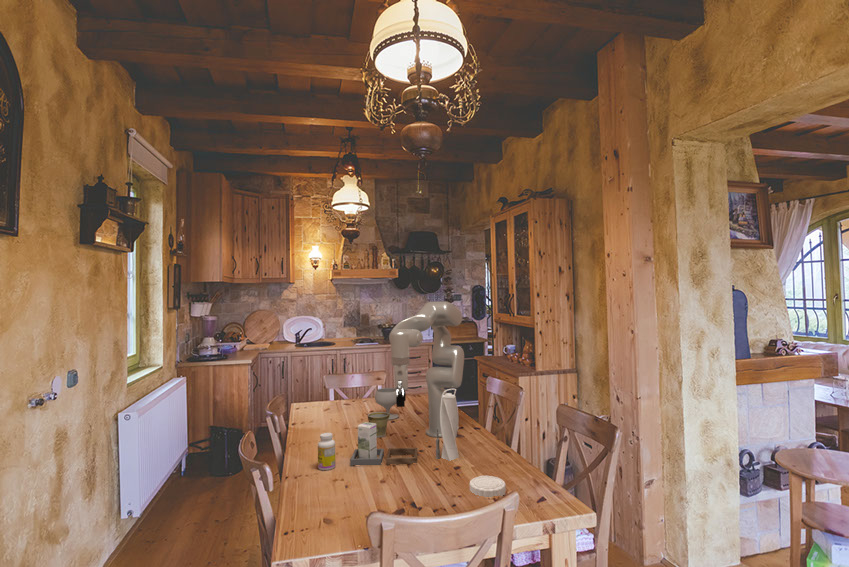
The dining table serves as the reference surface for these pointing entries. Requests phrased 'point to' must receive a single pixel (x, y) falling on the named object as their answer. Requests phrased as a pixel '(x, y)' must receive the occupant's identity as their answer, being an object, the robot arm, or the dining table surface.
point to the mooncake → (487, 486)
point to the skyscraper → (448, 427)
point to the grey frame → (367, 459)
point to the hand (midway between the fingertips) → (401, 403)
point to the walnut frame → (401, 452)
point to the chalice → (387, 400)
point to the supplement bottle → (326, 452)
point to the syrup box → (367, 440)
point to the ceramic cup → (379, 422)
